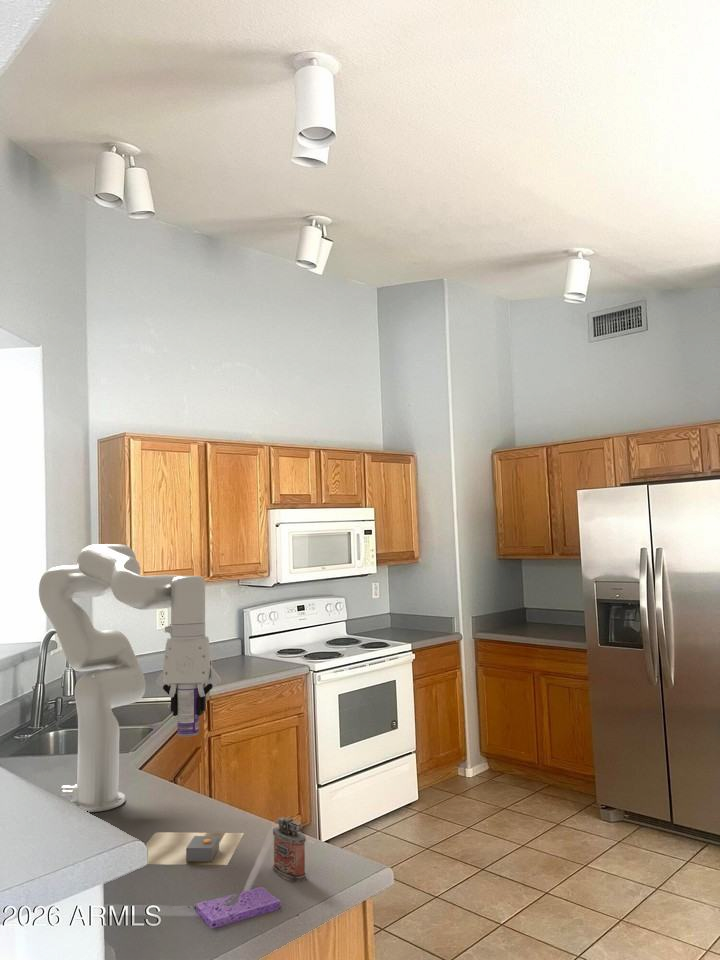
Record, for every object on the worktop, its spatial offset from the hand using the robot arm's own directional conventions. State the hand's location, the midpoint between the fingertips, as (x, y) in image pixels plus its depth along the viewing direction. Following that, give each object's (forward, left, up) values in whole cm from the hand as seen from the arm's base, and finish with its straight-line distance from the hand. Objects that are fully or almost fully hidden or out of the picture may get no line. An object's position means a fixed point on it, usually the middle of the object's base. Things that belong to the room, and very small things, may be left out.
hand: (188, 713), depth 167 cm
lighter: (+26, -22, -25) cm, 42 cm away
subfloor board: (+4, -13, -25) cm, 28 cm away
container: (0, 0, -5) cm, 5 cm away
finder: (+8, -17, -23) cm, 30 cm away
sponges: (+19, -36, -25) cm, 48 cm away
